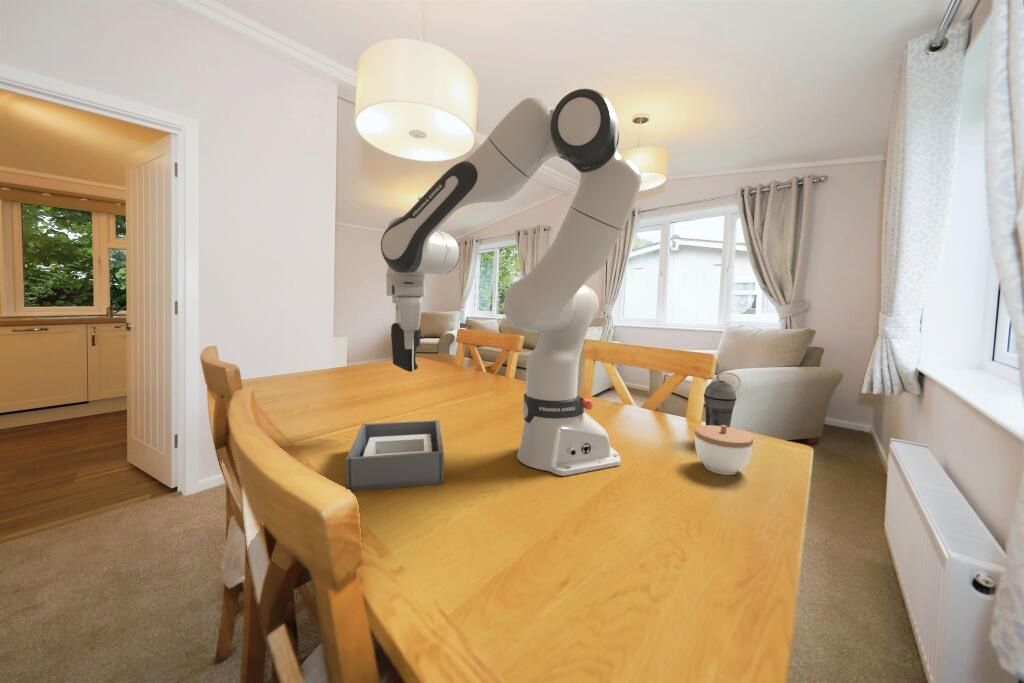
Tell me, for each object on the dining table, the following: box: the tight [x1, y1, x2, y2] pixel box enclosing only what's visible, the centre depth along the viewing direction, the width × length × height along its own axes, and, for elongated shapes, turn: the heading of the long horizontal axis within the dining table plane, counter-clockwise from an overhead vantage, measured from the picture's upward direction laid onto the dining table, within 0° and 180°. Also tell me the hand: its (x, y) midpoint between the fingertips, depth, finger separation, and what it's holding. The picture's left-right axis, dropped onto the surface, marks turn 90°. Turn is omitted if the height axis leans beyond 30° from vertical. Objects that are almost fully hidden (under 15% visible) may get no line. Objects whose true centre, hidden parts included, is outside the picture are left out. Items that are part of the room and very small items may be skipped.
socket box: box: [345, 419, 445, 492], centre depth 81 cm, size 17×20×6 cm
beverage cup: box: [703, 362, 738, 428], centre depth 97 cm, size 7×7×20 cm
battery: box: [390, 321, 421, 373], centre depth 95 cm, size 7×4×11 cm, turn 57°
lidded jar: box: [694, 424, 754, 476], centre depth 82 cm, size 11×11×9 cm
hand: (406, 346), depth 94 cm, fingers closed on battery, 7 cm apart
